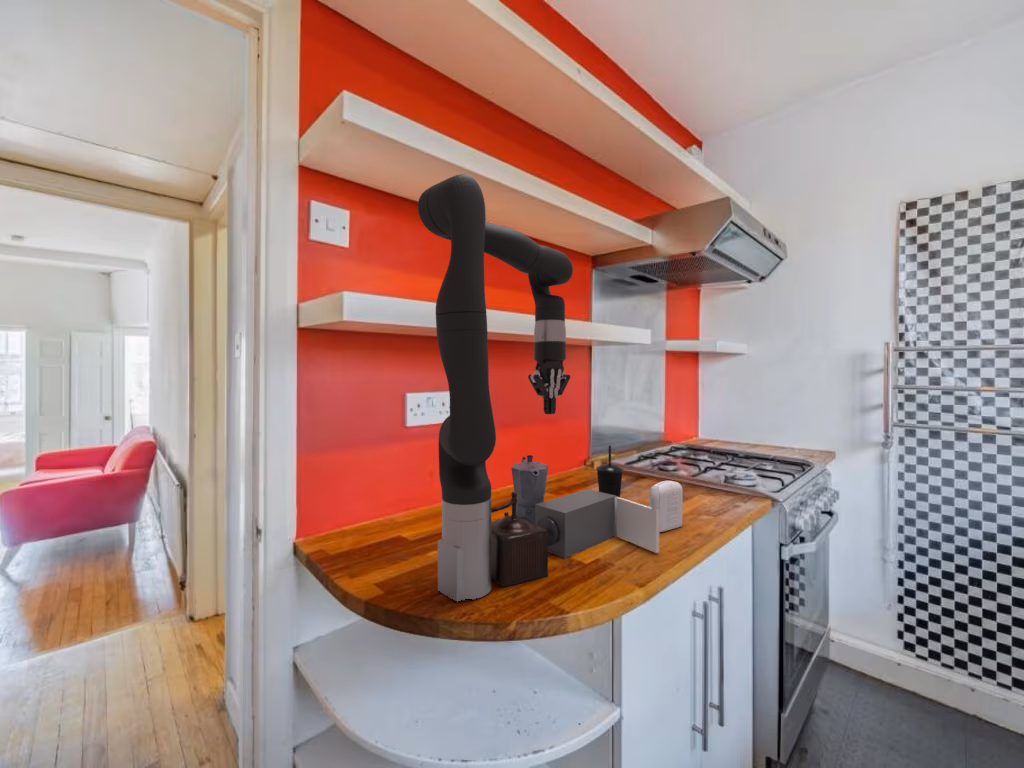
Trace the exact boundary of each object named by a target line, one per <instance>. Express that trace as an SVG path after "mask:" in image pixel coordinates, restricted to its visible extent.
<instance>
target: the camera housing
mask: <svg viewBox="0 0 1024 768" xmlns="http://www.w3.org/2000/svg"><path fill="white" fill-rule="evenodd" d="M615 497H616V496H615V495H611V494H607V493H602V492H599V490H593V489H589V488H586V489H583V490H580V491H576V492H573V493H570V494H565V495H562V496H559V497H555V498H553V499H550V500H546V501H545V500H544V502H542V503H538V504H535V524H537V525H539V526H540V527H542V528H544V529H545V530H547V532H548V553H550V554H553V555H555V556H558V557H560V558H562V559H568V558H569V557H571V556H574V555H576V554H578V553H581V552H583V551H585V550H587V549H589V548H591V547H593V546H596V545H599V544H600V543H602V542H605V541H607V540H610V539H612V538H614V537H616V536H615Z"/></svg>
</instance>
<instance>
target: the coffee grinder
mask: <svg viewBox="0 0 1024 768" xmlns="http://www.w3.org/2000/svg"><path fill="white" fill-rule="evenodd" d="M510 494H511V496H510V497H511V498H510V499H509V500H510V501H507V502H506V503H504V504H501V505H497V506H495V507H491V514H492V513H495V512H498V511H502V510H505V509H507V508H509V507H511V515H509V512H506V511H505V512H504V517H500V518H497V519H496V520H494V521H491V580H493V582H494V583H496V584H498V585H499V584H500V585H499V586H501V587H502V588H507V587H508V588H510V587H513V586H518V585H522V584H526V583H529V582H534V581H537V580H539V579H543V578H545V577H548V576H549V571H548V569H549V567H548V566H549V564H548V563H549V560H548V559H549V556H548V555H549V552H548V532H547V530H545V529H544V528H542V527H540V526H539V525H537V524H535V523H534V522H532V521H530V520H529V519H527V518H525V517H520V516H518V515H516V503H517V502H518V499H517V498H516V497H517V493H516V492H514V491H512V492H511V493H510ZM509 586H510V587H509Z"/></svg>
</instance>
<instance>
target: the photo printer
mask: <svg viewBox="0 0 1024 768" xmlns="http://www.w3.org/2000/svg"><path fill="white" fill-rule="evenodd" d="M653 486H658V487H659V533H661V532H667V531H670V530H674V529H678V528H680V527H682V525H683V493H684V492H683V487H682V484H680V482H677V481H673V480H663V481H659V482H657V483H655V484H654V485H653ZM648 506H649V507H651V506H652V486H651V487H650V488H649V491H648Z"/></svg>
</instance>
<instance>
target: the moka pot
mask: <svg viewBox="0 0 1024 768" xmlns="http://www.w3.org/2000/svg"><path fill="white" fill-rule="evenodd" d="M533 458H534V456H533V455H532V454H530V455H529V454H528V455H526V457H525V456H522V460H521V462H517V463H516V462H515V463H514V464H513V465H512V466H511V475H512V485H513V492H516V493H517V497H516V498H517V499H518V502H517V503H516V515H518V516H520V517H525V518H527V519H529V520H530V521H532V522H534V523H535V504H538V503H542V502H545V494H546V490H547V489H546V487H547V480H548V471H549V464H546V463H544V462H543V463H542V462H540V461H534V460H533Z"/></svg>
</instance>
